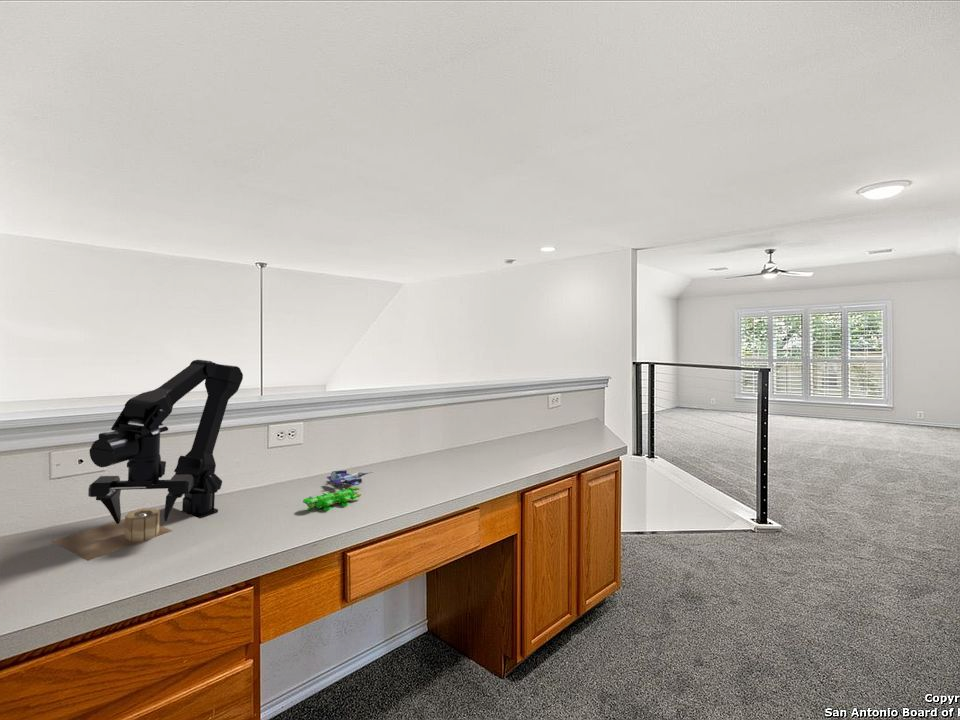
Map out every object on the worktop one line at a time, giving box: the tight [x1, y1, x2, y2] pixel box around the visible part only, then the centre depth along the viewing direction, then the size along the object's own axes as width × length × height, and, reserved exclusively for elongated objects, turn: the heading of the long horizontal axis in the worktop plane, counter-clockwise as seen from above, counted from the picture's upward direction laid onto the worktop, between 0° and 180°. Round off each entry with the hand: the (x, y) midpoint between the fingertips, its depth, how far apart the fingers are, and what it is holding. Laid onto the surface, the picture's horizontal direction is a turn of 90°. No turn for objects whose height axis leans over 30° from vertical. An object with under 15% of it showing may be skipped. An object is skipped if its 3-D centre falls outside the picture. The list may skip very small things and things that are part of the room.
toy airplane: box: [326, 470, 373, 490], centre depth 157 cm, size 13×14×4 cm
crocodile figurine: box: [302, 486, 362, 512], centre depth 140 cm, size 7×18×4 cm, turn 137°
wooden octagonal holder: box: [124, 507, 161, 542], centre depth 111 cm, size 6×6×5 cm
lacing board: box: [52, 518, 173, 561], centre depth 110 cm, size 17×14×2 cm
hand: (142, 522), depth 111 cm, fingers open, 9 cm apart
